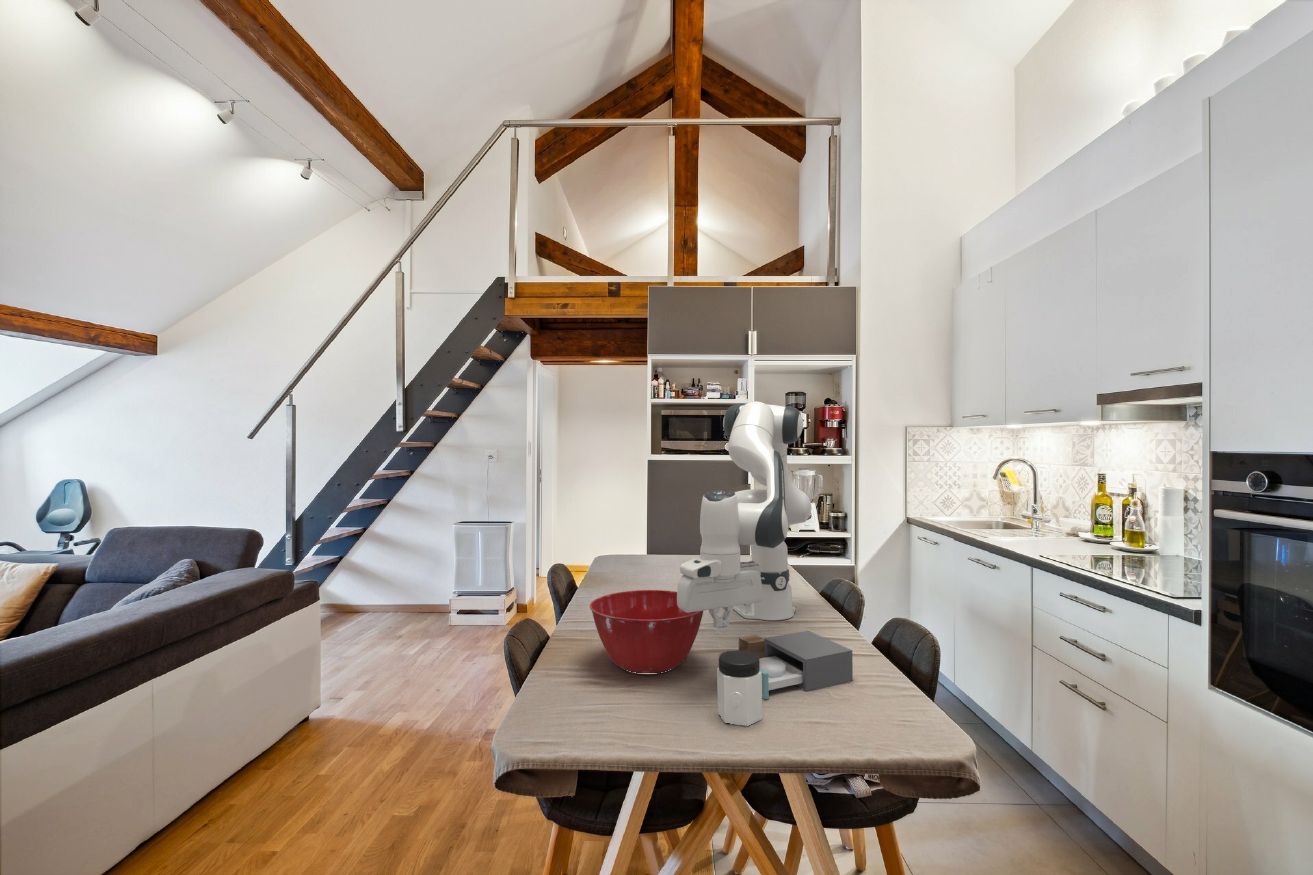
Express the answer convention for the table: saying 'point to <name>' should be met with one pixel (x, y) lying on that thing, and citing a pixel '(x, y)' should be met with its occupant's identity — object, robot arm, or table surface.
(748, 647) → the walnut block
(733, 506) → the robot arm
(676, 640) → the mixing bowl
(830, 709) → the table surface
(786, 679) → the tray
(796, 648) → the grey drawer box
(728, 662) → the jar
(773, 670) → the disc
